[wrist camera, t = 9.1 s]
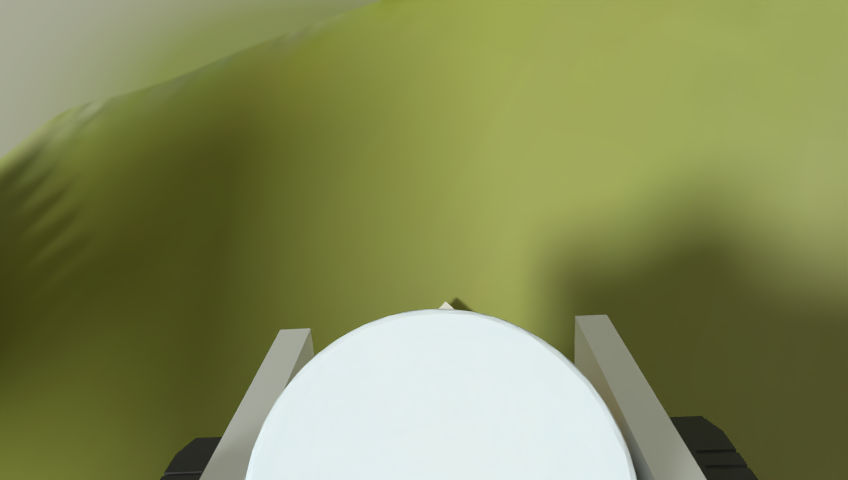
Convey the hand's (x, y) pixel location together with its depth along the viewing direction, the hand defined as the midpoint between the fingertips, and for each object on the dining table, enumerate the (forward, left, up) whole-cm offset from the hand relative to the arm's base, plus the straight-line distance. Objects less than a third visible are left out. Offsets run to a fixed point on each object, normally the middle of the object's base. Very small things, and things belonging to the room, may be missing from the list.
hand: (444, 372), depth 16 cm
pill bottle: (+3, -3, -4) cm, 6 cm away
